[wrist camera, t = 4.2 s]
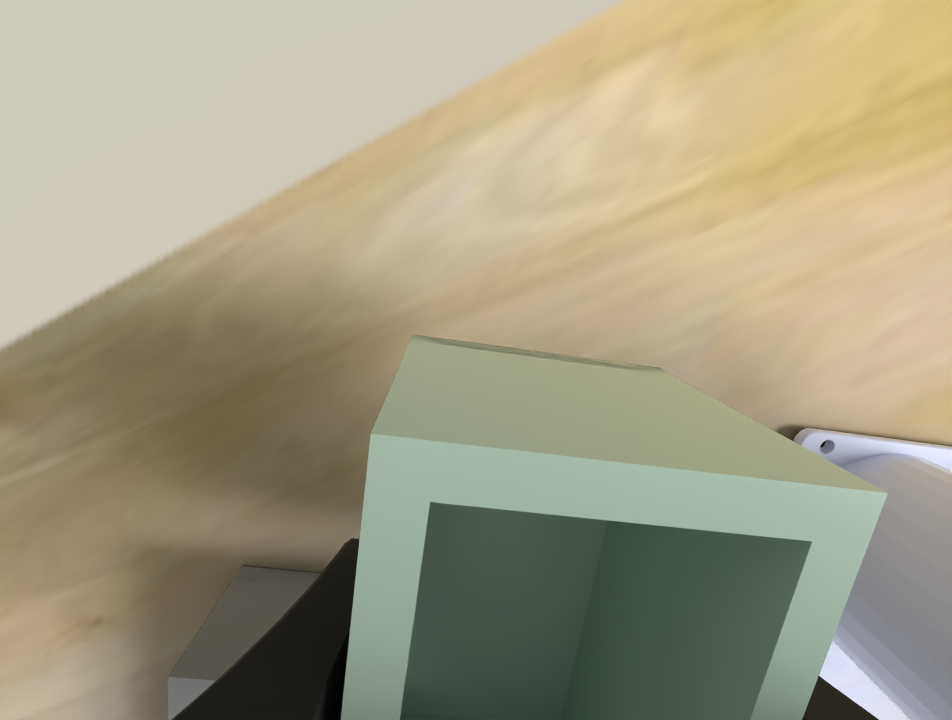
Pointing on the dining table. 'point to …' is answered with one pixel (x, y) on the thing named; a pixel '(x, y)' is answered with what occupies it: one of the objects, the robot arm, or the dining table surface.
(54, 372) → the dining table surface
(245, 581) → the tray
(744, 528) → the box
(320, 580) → the robot arm
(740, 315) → the dining table surface
